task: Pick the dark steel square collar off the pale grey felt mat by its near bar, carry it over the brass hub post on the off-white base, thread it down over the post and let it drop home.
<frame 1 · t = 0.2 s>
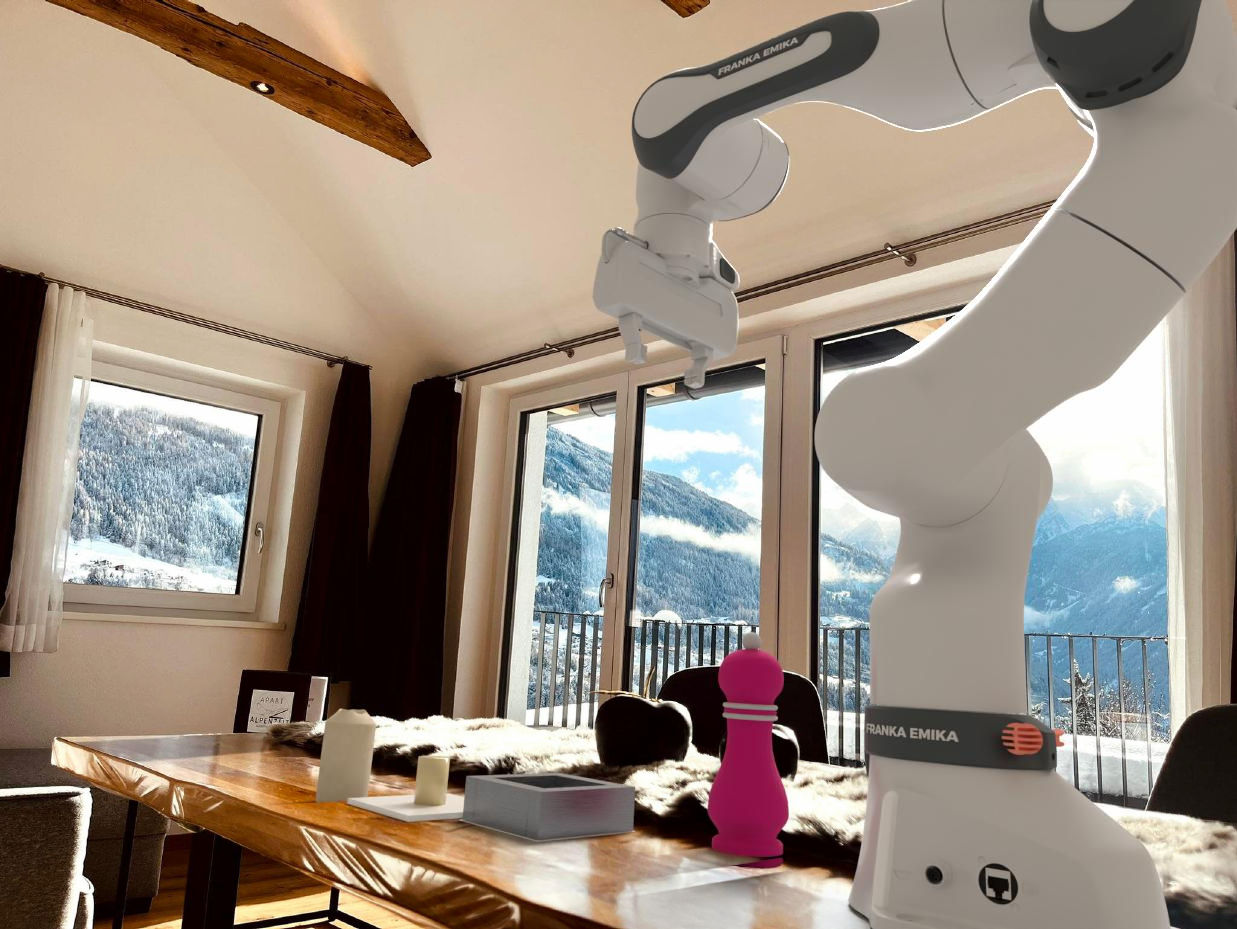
hand: (665, 374, 96), 47 cm above the table, fingers open, 8 cm apart
pepper mill: (746, 863, 79), on the table
collar: (547, 825, 85), point 1 cm above the table, touching mat
hub: (428, 818, 91), on the table
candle: (340, 804, 98), on the table
mat: (546, 836, 85), on the table
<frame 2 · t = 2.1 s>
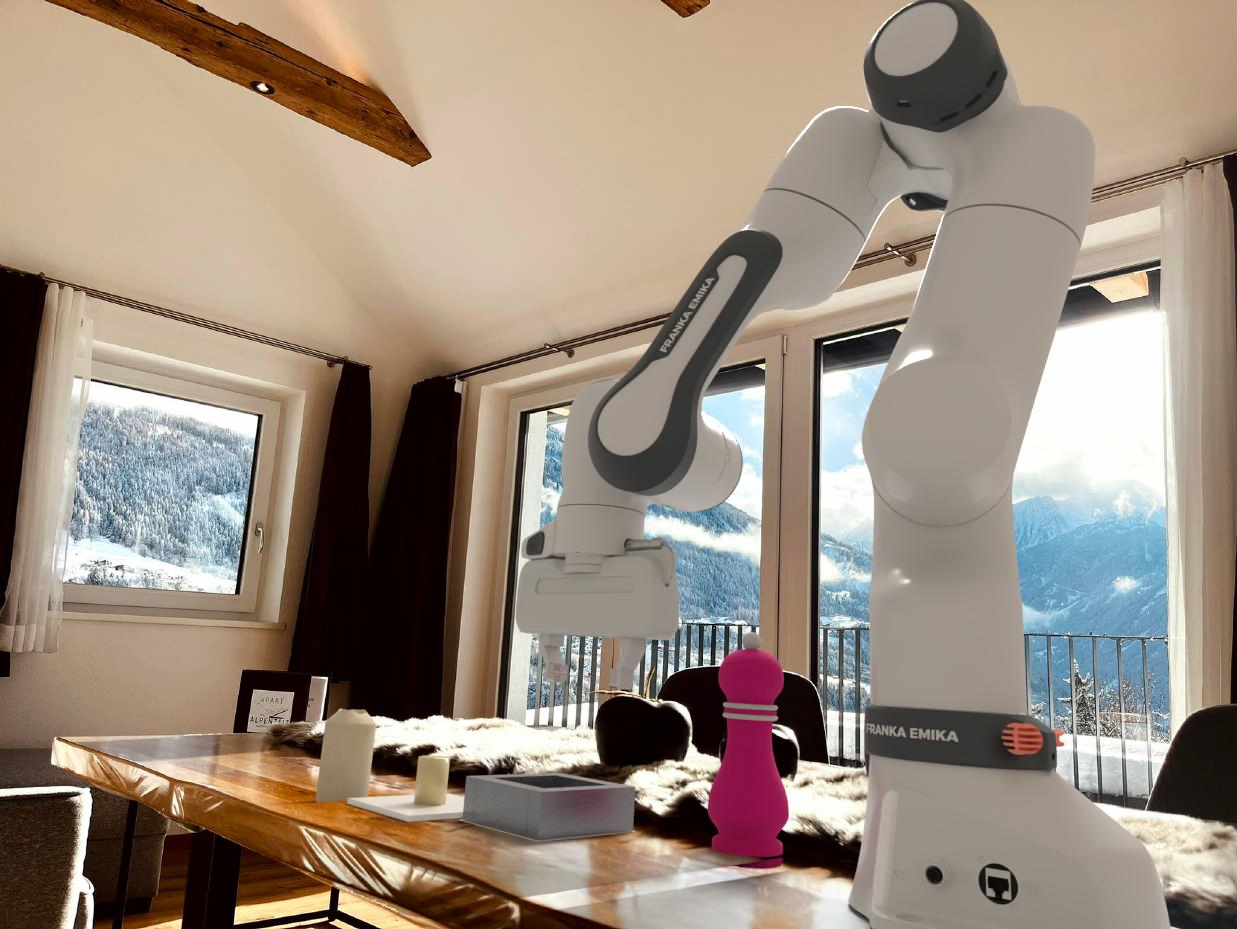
hand: (586, 685, 85), 14 cm above the table, fingers open, 8 cm apart
nothing on the table moved.
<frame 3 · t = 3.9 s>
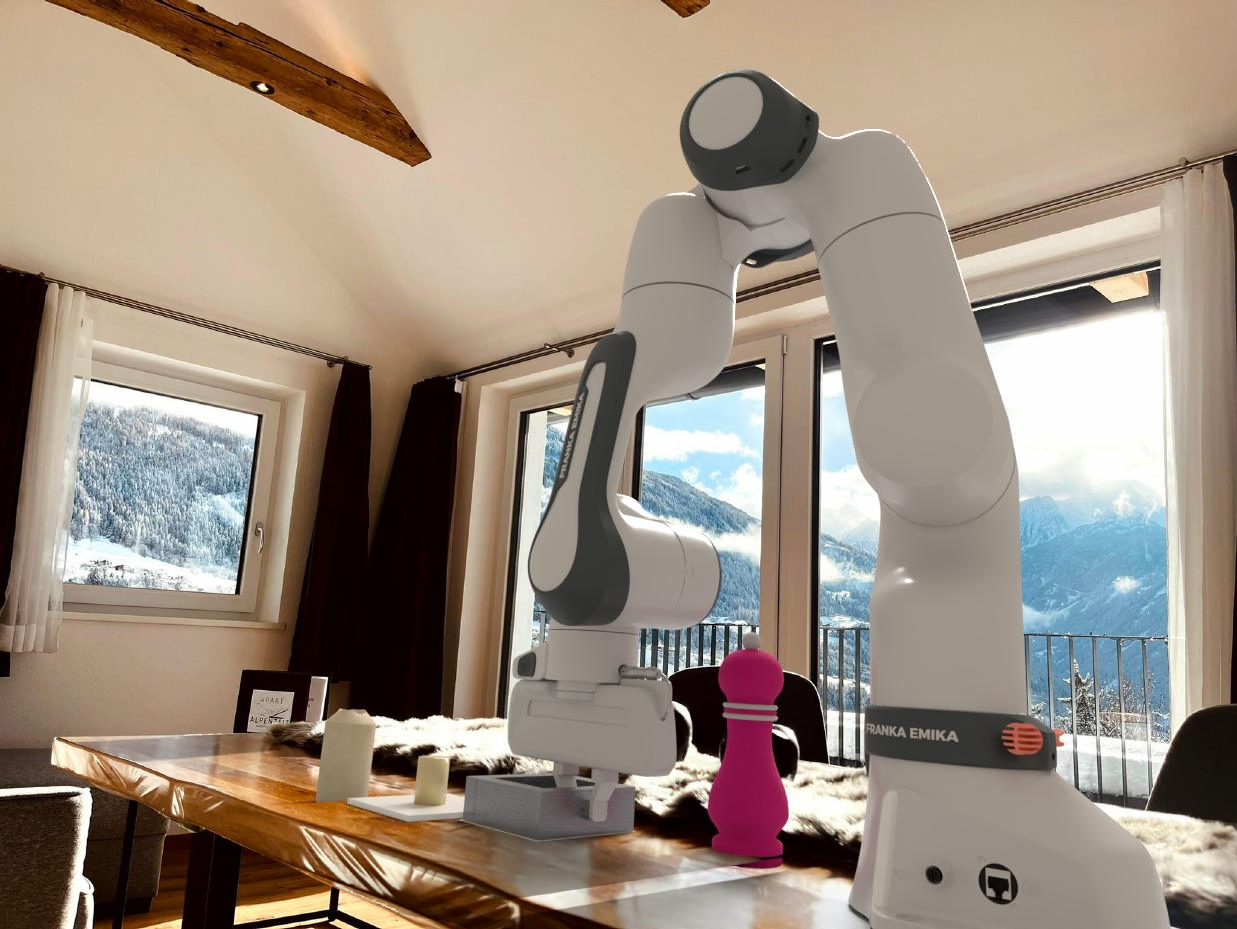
hand: (582, 817, 82), 2 cm above the table, fingers closed on collar, 2 cm apart
collar: (547, 825, 85), point 1 cm above the table, touching gripper, mat
everything else where it was.
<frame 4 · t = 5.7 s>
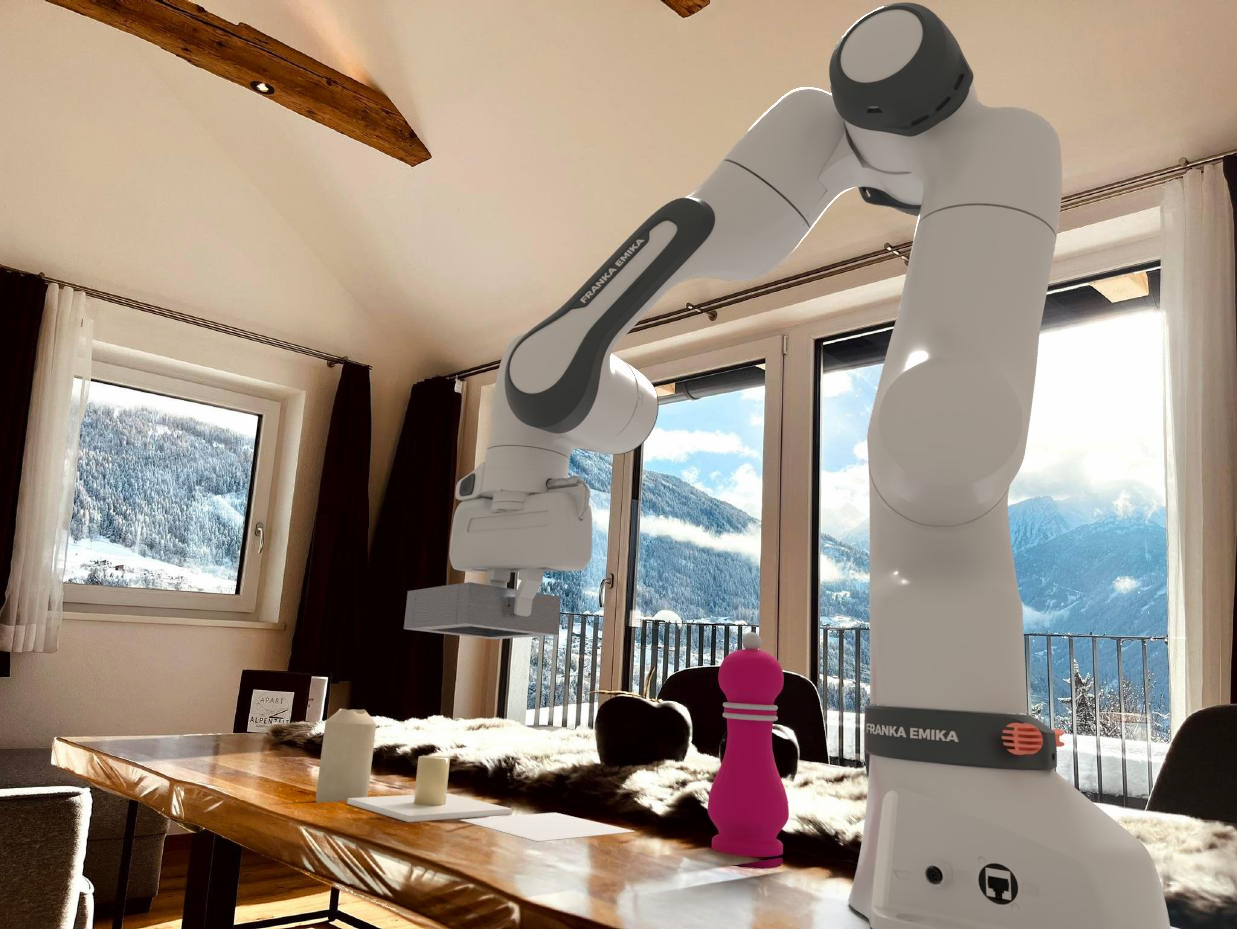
hand: (509, 615, 91), 21 cm above the table, fingers closed on collar
collar: (480, 632, 94), point 19 cm above the table, touching gripper
everything else where it was.
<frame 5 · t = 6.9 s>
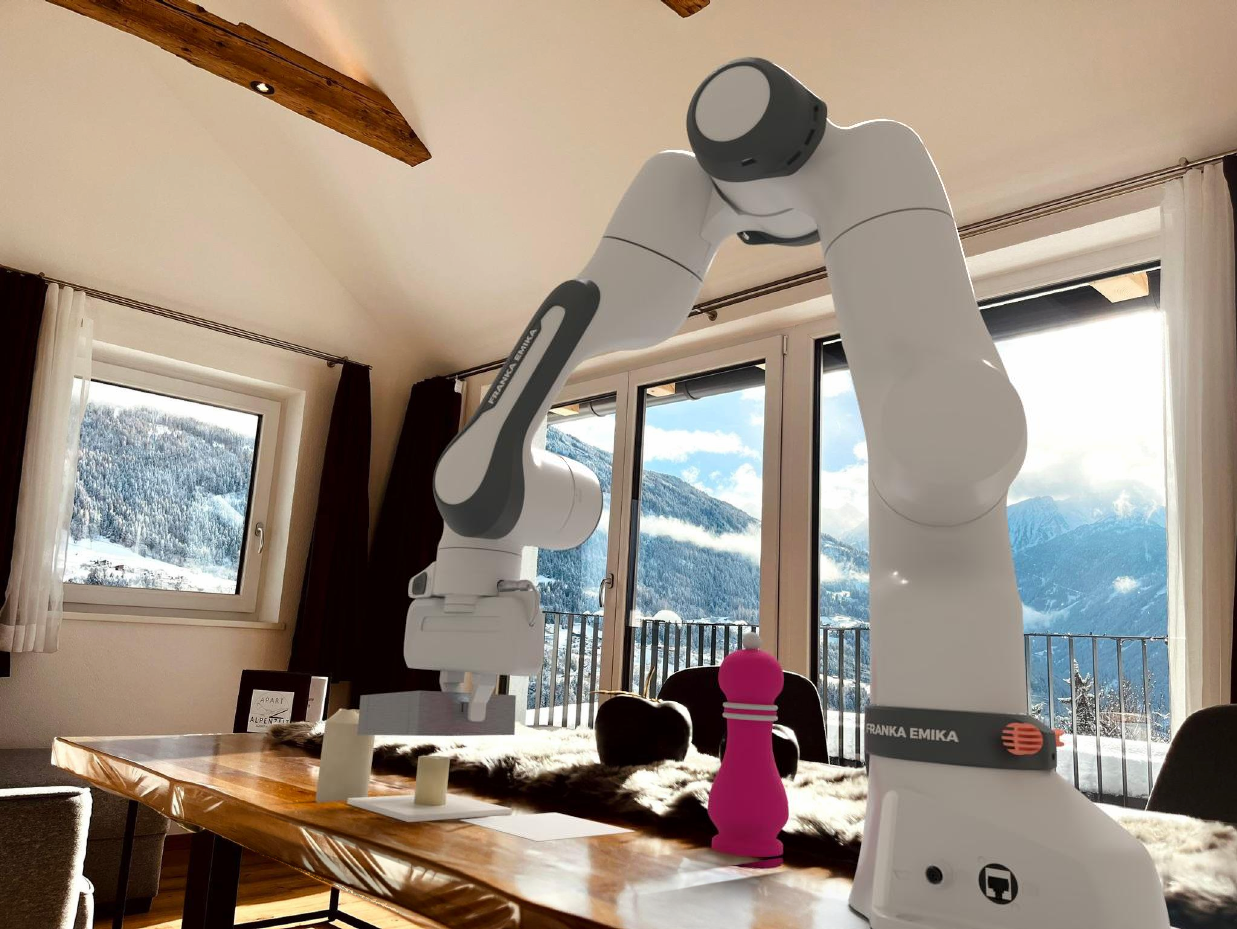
hand: (463, 719, 90), 10 cm above the table, fingers closed on collar
collar: (435, 735, 93), point 8 cm above the table, tilted 5°, touching gripper
everything else where it was.
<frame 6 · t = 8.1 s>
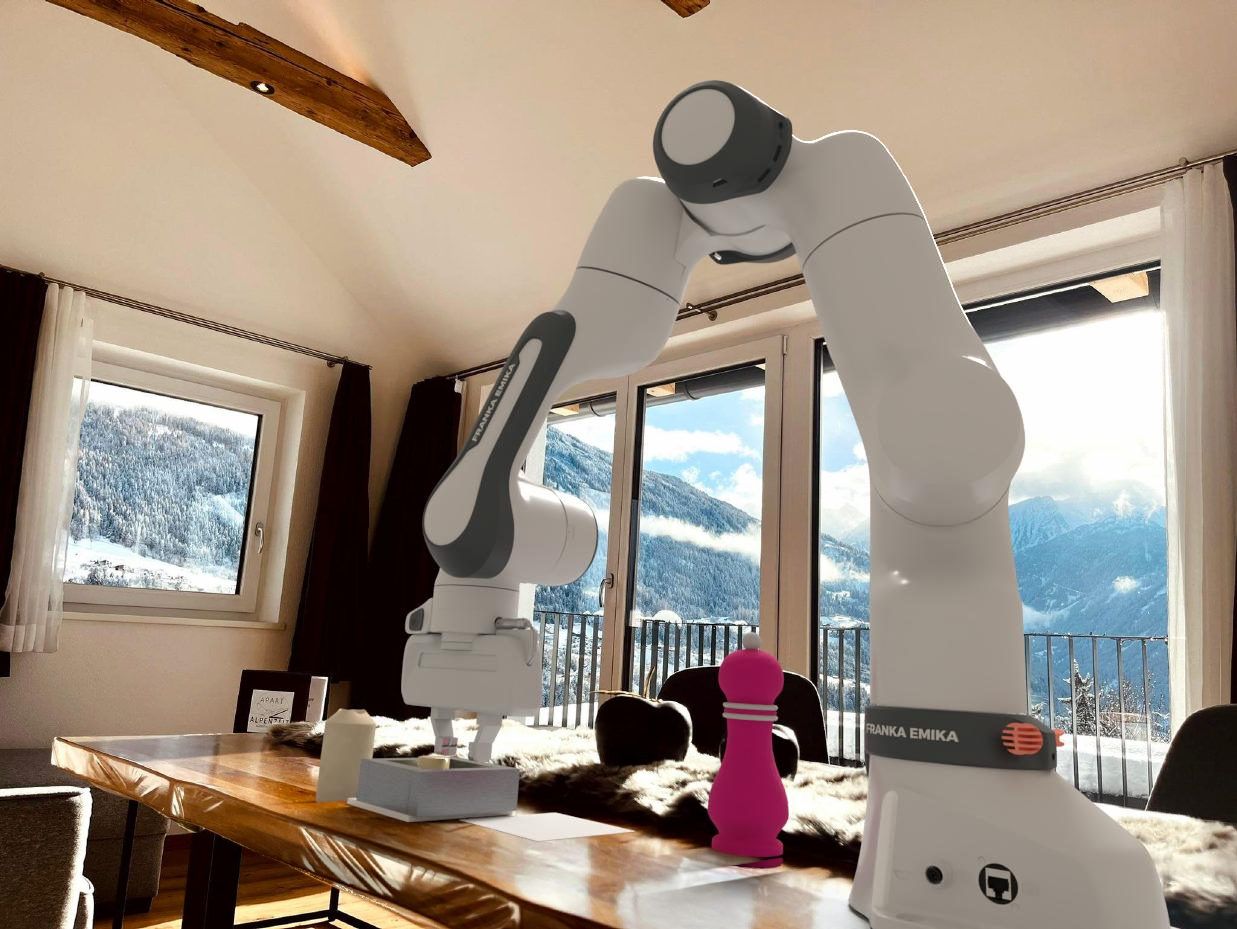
hand: (461, 758, 89), 6 cm above the table, fingers open, 5 cm apart
collar: (436, 805, 90), point 1 cm above the table, touching hub
everything else where it was.
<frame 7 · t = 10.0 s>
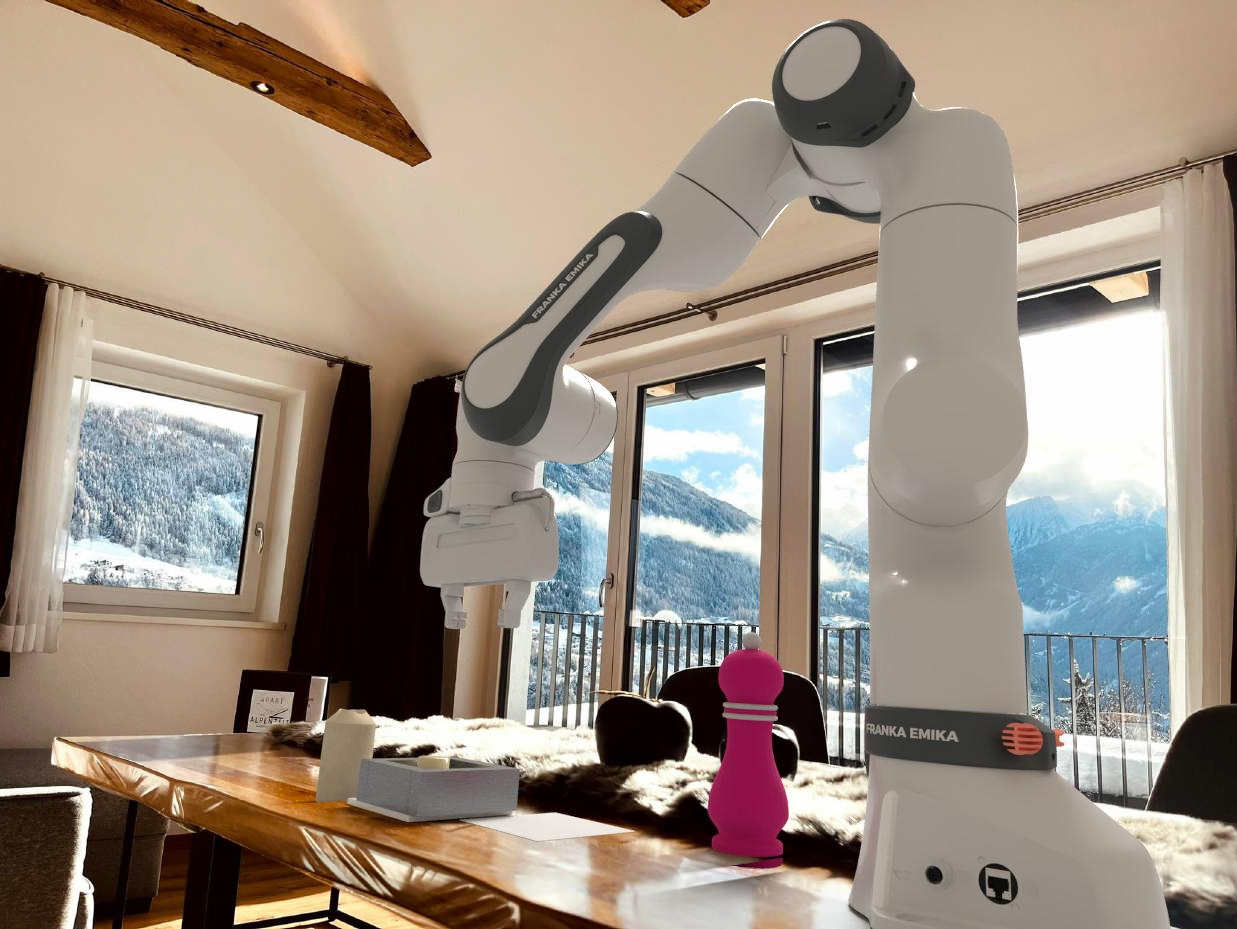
hand: (480, 628, 92), 19 cm above the table, fingers open, 8 cm apart
nothing on the table moved.
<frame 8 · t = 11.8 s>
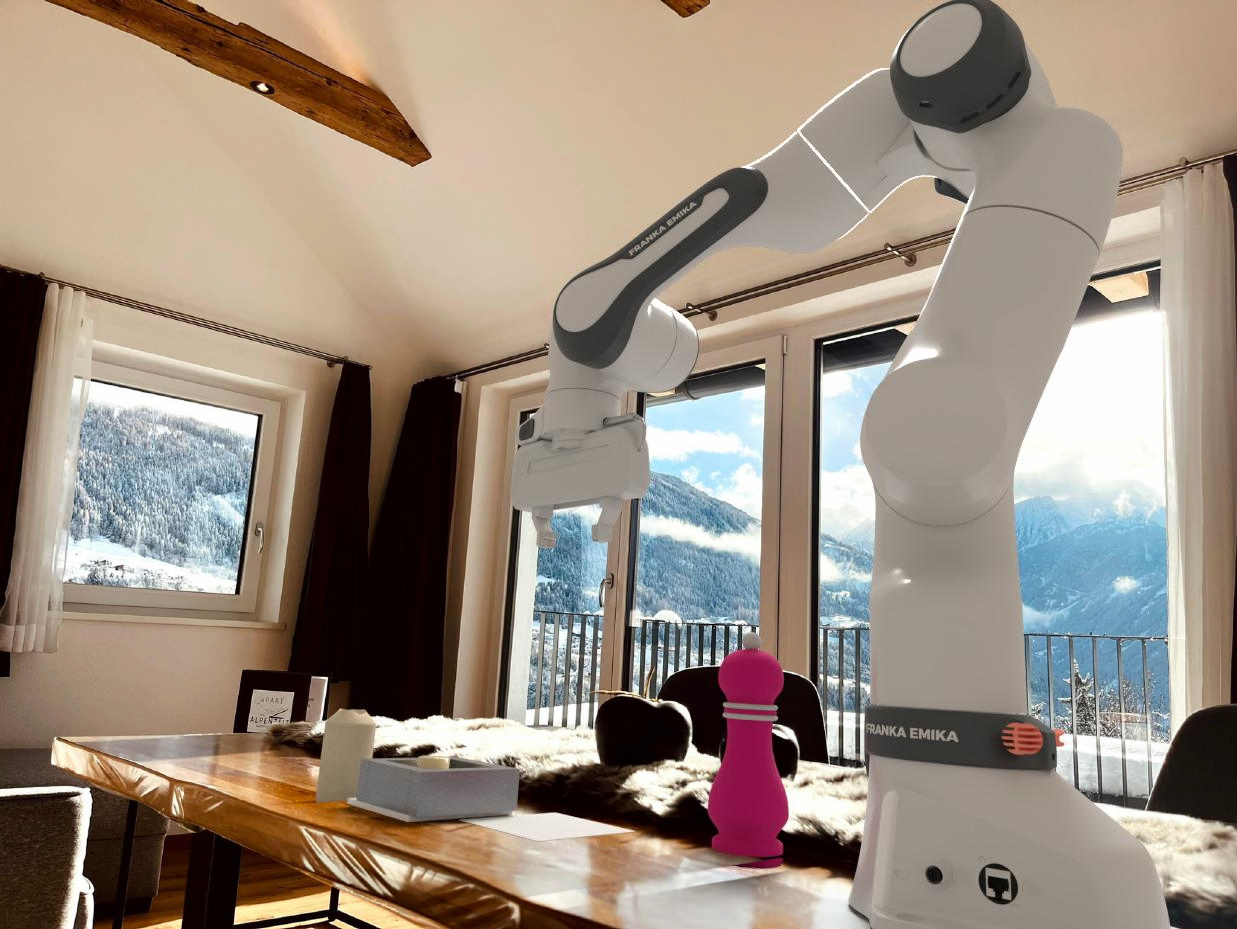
hand: (572, 544, 99), 29 cm above the table, fingers open, 8 cm apart
nothing on the table moved.
at the end: collar 1.3 cm off-centre on the hub, point 1.5 cm above the hub's base; collar tilted 0°; the gripper is holding nothing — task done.
